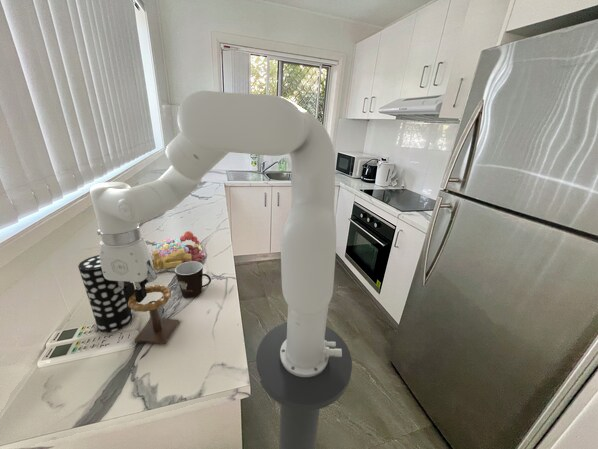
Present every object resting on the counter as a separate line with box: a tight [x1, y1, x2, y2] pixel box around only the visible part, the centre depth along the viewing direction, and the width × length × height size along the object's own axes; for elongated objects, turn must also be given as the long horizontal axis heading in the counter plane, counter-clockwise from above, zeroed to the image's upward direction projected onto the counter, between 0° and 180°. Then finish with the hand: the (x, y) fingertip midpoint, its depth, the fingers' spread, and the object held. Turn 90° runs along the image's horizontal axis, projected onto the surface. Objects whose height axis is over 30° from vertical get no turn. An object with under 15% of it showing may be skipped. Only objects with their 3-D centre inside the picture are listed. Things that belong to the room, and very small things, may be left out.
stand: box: [133, 300, 180, 345], centre depth 66 cm, size 8×8×10 cm
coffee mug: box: [174, 261, 212, 299], centre depth 82 cm, size 12×9×10 cm
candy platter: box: [150, 230, 205, 274], centre depth 104 cm, size 25×24×9 cm
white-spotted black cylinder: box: [77, 254, 134, 333], centre depth 67 cm, size 8×8×20 cm
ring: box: [128, 284, 172, 313], centre depth 64 cm, size 10×10×2 cm
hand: (136, 298), depth 64 cm, fingers closed on ring, 2 cm apart
